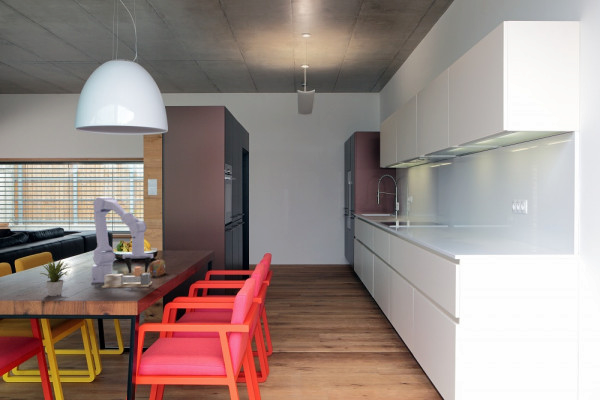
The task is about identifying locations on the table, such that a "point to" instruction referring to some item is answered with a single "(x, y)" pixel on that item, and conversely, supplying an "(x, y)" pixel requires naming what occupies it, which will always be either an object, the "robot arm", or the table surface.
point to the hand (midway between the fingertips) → (138, 272)
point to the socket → (145, 278)
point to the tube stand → (119, 282)
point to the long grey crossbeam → (133, 277)
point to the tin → (157, 268)
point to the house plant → (55, 278)
